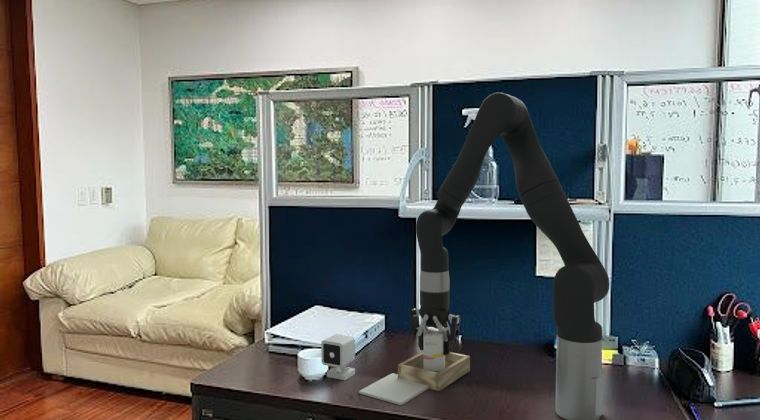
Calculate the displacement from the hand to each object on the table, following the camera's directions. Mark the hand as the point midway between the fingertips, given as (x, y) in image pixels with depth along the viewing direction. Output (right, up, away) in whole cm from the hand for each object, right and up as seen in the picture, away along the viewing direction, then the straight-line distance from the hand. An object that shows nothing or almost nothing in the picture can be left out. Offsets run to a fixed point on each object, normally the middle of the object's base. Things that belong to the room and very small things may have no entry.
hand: (434, 351), depth 150 cm
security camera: (-24, -7, +1) cm, 25 cm away
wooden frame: (0, -6, 0) cm, 6 cm away
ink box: (0, -6, +1) cm, 6 cm away
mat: (-10, -7, -8) cm, 15 cm away
